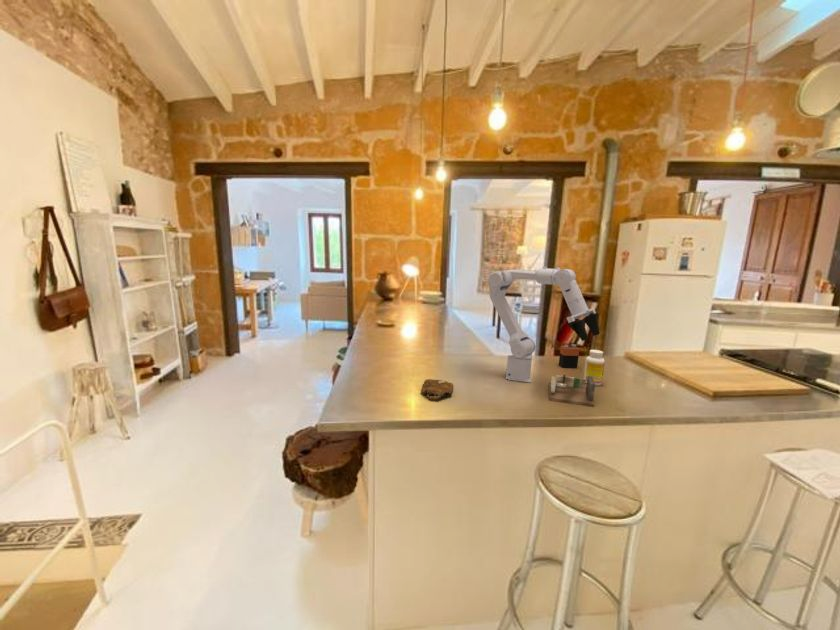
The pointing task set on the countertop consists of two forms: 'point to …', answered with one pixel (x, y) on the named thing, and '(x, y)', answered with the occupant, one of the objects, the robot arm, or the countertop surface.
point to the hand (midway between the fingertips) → (591, 337)
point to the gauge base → (574, 391)
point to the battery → (569, 356)
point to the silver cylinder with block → (557, 384)
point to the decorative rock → (436, 388)
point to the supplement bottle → (595, 366)
